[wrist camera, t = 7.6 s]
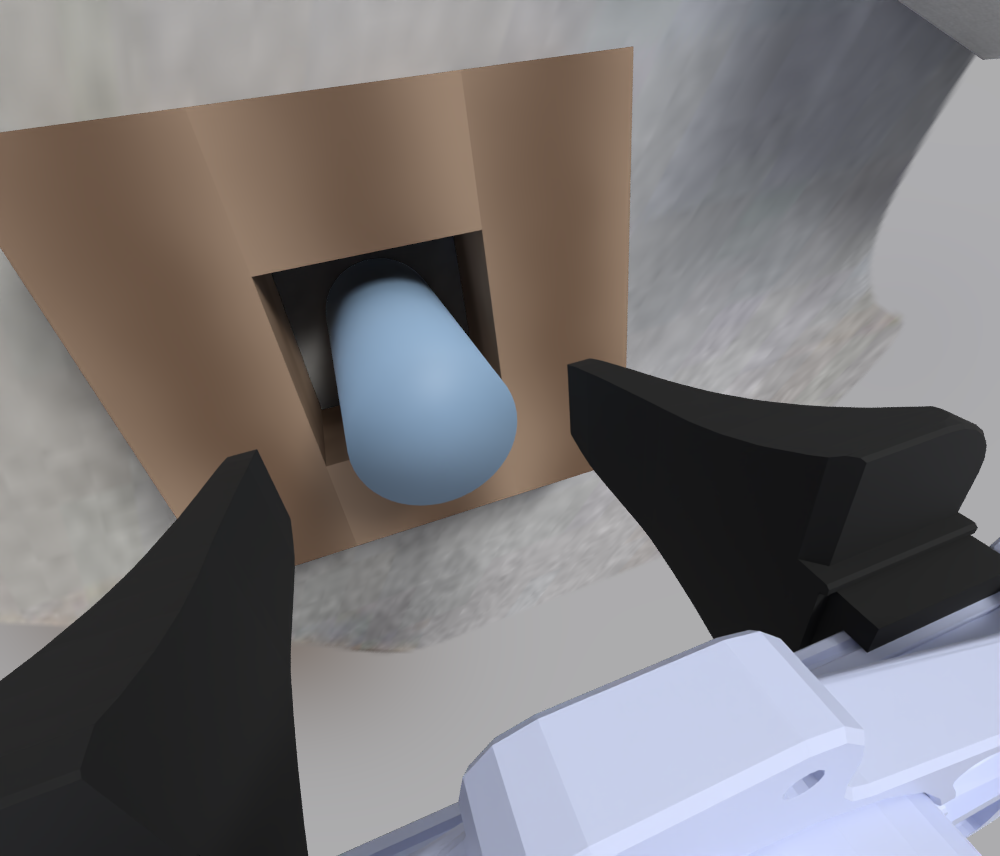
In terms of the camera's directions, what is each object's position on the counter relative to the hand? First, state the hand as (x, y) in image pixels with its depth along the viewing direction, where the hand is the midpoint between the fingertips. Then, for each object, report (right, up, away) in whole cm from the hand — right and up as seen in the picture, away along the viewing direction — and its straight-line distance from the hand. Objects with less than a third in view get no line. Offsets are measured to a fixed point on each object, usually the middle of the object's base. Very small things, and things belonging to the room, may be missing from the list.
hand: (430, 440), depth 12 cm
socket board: (-3, +4, +7) cm, 9 cm away
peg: (-3, +5, +7) cm, 9 cm away
